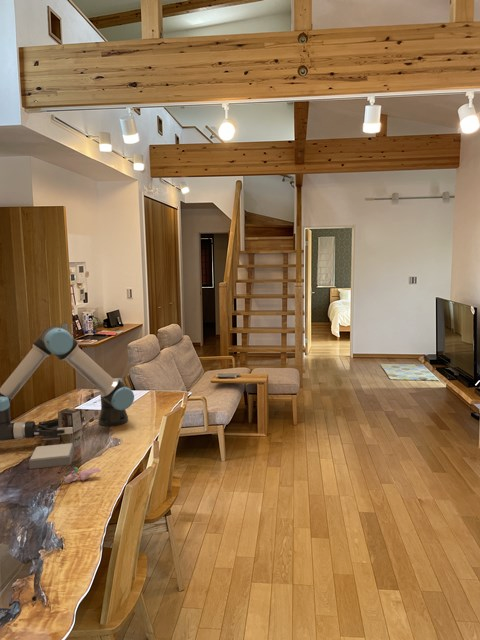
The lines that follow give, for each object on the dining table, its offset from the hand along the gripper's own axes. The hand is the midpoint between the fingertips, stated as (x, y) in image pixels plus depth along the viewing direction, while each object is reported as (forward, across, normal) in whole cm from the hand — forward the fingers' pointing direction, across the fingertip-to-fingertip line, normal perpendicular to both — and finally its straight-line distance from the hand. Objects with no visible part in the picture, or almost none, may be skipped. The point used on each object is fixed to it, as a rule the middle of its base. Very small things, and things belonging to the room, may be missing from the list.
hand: (74, 425), depth 237 cm
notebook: (-10, -20, -10) cm, 24 cm away
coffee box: (-2, 0, -9) cm, 9 cm away
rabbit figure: (+6, +43, -9) cm, 45 cm away
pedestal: (-8, +18, -9) cm, 21 cm away
